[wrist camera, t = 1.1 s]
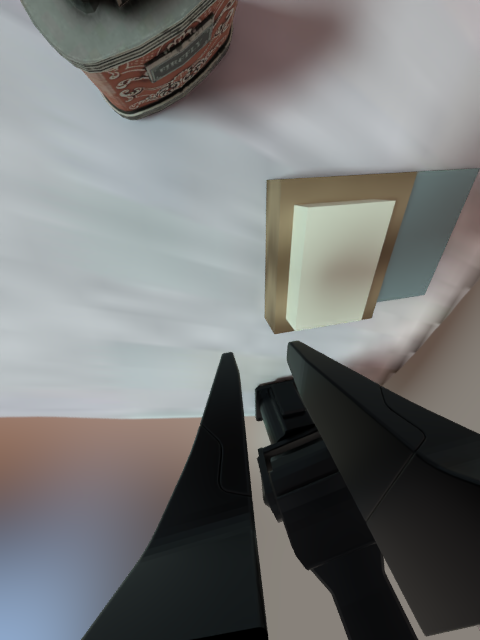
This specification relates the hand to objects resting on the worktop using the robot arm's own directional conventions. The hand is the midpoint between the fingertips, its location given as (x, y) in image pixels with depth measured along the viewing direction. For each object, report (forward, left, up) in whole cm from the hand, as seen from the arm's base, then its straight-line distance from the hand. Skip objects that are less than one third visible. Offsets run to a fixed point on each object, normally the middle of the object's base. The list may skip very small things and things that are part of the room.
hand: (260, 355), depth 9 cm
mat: (0, -18, -12) cm, 22 cm away
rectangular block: (0, -8, -9) cm, 12 cm away
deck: (0, -9, -12) cm, 15 cm away
